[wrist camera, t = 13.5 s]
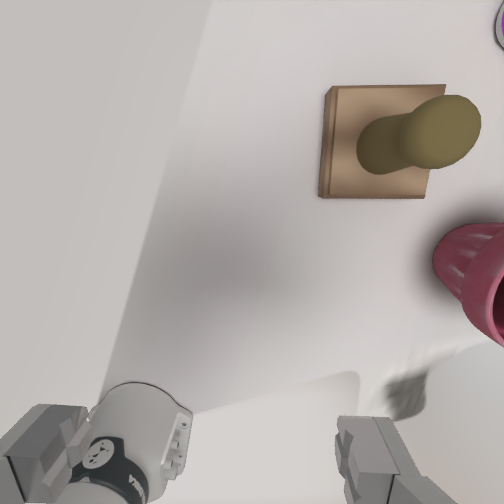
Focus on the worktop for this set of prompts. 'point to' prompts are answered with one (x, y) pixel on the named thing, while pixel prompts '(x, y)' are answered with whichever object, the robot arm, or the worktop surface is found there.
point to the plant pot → (475, 274)
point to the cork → (420, 136)
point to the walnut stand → (347, 134)
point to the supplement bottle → (500, 26)
